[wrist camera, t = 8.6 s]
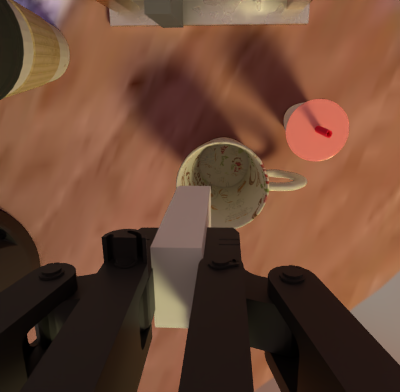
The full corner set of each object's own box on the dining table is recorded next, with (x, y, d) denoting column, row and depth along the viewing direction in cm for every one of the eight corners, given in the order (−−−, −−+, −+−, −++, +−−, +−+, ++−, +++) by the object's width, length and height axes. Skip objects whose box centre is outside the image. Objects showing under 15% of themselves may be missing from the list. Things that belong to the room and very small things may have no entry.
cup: (330, 98, 40) (370, 107, 29) (317, 148, 42) (350, 174, 31) (280, 90, 41) (300, 95, 29) (269, 139, 42) (284, 163, 31)
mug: (187, 125, 42) (175, 140, 33) (301, 128, 42) (323, 143, 32) (187, 197, 45) (176, 229, 35) (295, 200, 44) (313, 234, 35)
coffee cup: (7, -13, 39) (-118, -64, 25) (97, 23, 40) (23, -7, 26) (-11, 79, 42) (-132, 81, 28) (73, 112, 43) (-5, 130, 29)
